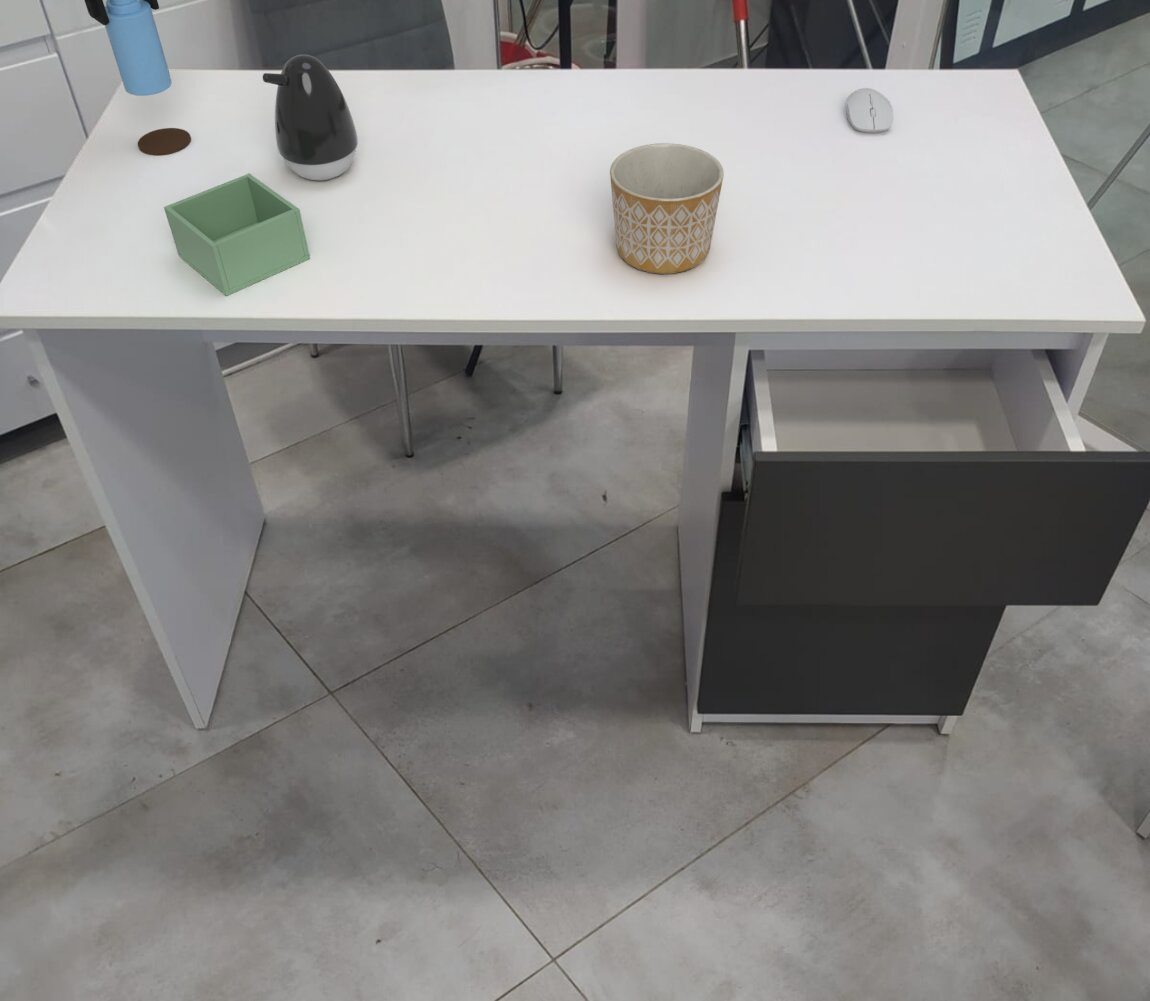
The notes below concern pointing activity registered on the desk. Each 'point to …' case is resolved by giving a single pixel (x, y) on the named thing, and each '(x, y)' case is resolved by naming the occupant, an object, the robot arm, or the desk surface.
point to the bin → (238, 233)
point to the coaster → (164, 141)
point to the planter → (665, 206)
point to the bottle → (137, 47)
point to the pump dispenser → (312, 120)
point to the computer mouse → (869, 111)
